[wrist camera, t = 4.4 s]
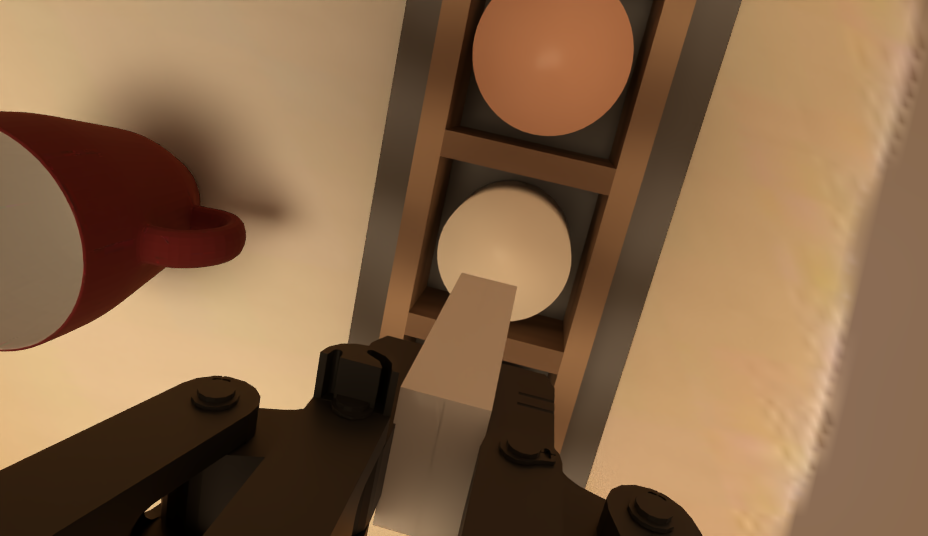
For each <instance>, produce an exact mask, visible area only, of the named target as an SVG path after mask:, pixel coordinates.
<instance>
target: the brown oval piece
mask: <svg viewBox="0 0 928 536" xmlns="http://www.w3.org/2000/svg"><path fill="white" fill-rule="evenodd" d="M633 52H634V45H633V34H632V28H631V25H630V21H629V18H628V15H627V13H626V11H625V9H624V7H623V5H622V4H621V2H620V1H619V0H491V2H490V3H489V5H488V6H487V7H486V9H485V11H484V13H483V15H482V16H481V19H480V21H479V24H478V26H477V29H476V33H475V37H474V43H473V59H472V60H473V69H474V74H475V78H476V82H477V84H478V87H479V90H480V92H481V94H482V96H483V98H484V99H485V101H486V102H487V104H488V105H489V107H490V108H491V109H492V110H493V111H494V112H495V113H496V115H497V116H499V117H500V118H501V119H502V120H503V121H505V122H506V123H508V124H509V125H511V126H513V127H514V128H517V129H519V130H521V131H523V132H527V133H530V134H534V135H541V136H557V135H564V134H568V133H572V132H575V131H578V130H580V129H583V128H585V127H586V126H588V125H590V124H592V123H593V122H595V121H596V120H598V119H599V118H600V117H601V116H603V115H604V114H605V113H606V112H607V111H608V110H609V109H610V108H611V107H612V105H613V104H614V103H615V102H616V100H617V99H618V97H619V96H620V94H621V93H622V91H623V89H624V87H625V85H626V83H627V80H628V77H629V74H630V71H631V66H632V62H633Z"/></svg>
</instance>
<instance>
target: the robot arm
mask: <svg viewBox="0 0 928 536" xmlns="http://www.w3.org/2000/svg"><path fill="white" fill-rule="evenodd" d="M516 290H517V286H513V285H509V284H505V283H501V282H497V281H493V280H489V279H485V278H481V277H477V276H473V275H469V274H465V273H461V275H460V276H459V278H458V280H457V282H456V284H455V286H454V288H453V290H452V291H451V293H450V295H449V297H448V299H447V301H446V303H445V305H444V306H443V308H442V310H441V312H440V314H439V316H438V318H437V320H436V321H435V323H434V325H433V327H432V329H431V331H430V333H429V335H428V336H427V338H426V340H425V342H424V344H423V345H422V344H419V343H415V342H411V341H407V340H403V339H399V338H395V337H392V336H388V335H387V336H385V337H383V338H380V339H378V340H376V341H373V342H372V343H371V344H370V345H369V346H368V345H362V344H338V345H334V346H330V347H328V348H326V349H324V350H323V351H321V352H320V358H319V364H318V371H317V377H316V384H315V390H314V397H313V398H312V399H311V401H310V402H309V403H308V404H307V406H306V407H305V408H304V409H299V410H279V409H265V408H259V403H260V395H259V393H258V392H257V390H256V388H254V387H253V386H251V385H250V384H248V383H247V382H245V381H241V380H238V379H234V378H232V377H226V376H224V377H222V376H211V377H202V378H196V379H193V380H190V381H187V382H184V383H182V384H179V385H177V386H175V387H173V388H171V389H169V390H167V391H165V392H163V393H161V394H159V395H157V396H154V397H152V398H150V399H148V400H146V401H144V402H142V403H140V404H138V405H136V406H134V407H131V408H129V409H127V410H125V411H123V412H121V413H119V414H117V415H115V416H113V417H111V418H109V419H106V420H104V421H102V422H100V423H98V424H96V425H94V426H92V427H90V428H88V429H86V430H84V431H81V432H79V433H77V434H75V435H73V436H71V437H69V438H67V439H65V440H63V441H61V442H59V443H56V444H54V445H52V446H50V447H48V448H46V449H44V450H42V451H40V452H38V453H36V454H34V455H31V456H29V457H27V458H25V459H23V460H21V461H19V462H17V463H15V464H13V465H11V466H9V467H6V468H4V469H2V470H0V536H367V532H368V527H369V522H370V520H371V518H372V515H373V513H374V511H375V508H376V511H375V516H374V521H373V525H375V526H379V527H382V528H386V529H389V530H393V531H396V532H400V533H403V534H407V535H410V536H702V534H701V532H700V531H699V529H698V527H697V526H696V524H695V523H694V521H693V520H692V518H691V517H690V516H689V515H688V514H687V512H686V511H685V510H684V509H683V508H682V507H681V506H680V505H678V504H677V503H675V502H674V501H673V500H671V499H670V498H669V497H667V496H666V495H664V494H662V493H659V492H657V491H655V490H653V489H650V488H645V487H641V486H637V485H621V486H618V487H616V488H614V489H612V490H611V491H610V493H609V495H608V496H607V498H606V500H605V499H603V498H601V497H599V496H597V495H595V494H593V493H591V492H589V491H587V490H586V489H584V488H582V487H580V486H579V485H577V484H576V483H574V482H573V481H572V480H571V479H569V478H568V477H567V476H566V475H565V474H564V473H563V464H562V460H561V457H560V454H559V453H558V452H557V451H556V450H555V448H554V411H555V404H554V401H555V388H554V387H553V385H552V384H551V382H550V381H549V379H548V378H547V376H546V375H545V374H541V373H537V372H533V371H529V370H526V369H522V368H518V367H514V366H510V365H506V364H502V358H503V354H504V349H505V344H506V339H507V334H508V329H509V324H510V319H511V314H512V309H513V305H514V300H515V295H516ZM160 499H161V503H160V504H159V505H157V506H156V507H154V508H153V509H151V510H149V511H147V512H145V511H146V510H147V509H148V508H149V507H150V506H151V505H152V504H154V503H155V502H157V501H158V500H160ZM144 512H145V513H144Z"/></svg>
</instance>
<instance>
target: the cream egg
mask: <svg viewBox="0 0 928 536" xmlns="http://www.w3.org/2000/svg"><path fill="white" fill-rule="evenodd" d="M437 261H438V268H439V272H440V275H441V278H442V280H443V283H444V285H445V286H446V288H447V290H448V291H449V293H451V291H452V290H453V288H454V286H455V284H456V282H457V280H458V278H459V276H460V275H461V273H465V274H469V275H473V276H477V277H481V278H485V279H489V280H493V281H497V282H501V283H505V284H509V285H513V286H517V290H516V295H515V300H514V305H513V309H512V314H511V319H510V321H517V320H522V319H526V318H529V317H531V316H534V315H536V314H538V313H540V312H541V311H543V310H544V309H546V308H547V307H548V306H549V305H551V304H552V303H553V302H554V300H555V299H556V298H557V297H558V296H559V294H560V293H561V292H562V290H563V288H564V286H565V284H566V282H567V279H568V276H569V273H570V268H571V245H570V235H569V228H568V224H567V221H566V218H565V216H564V214H563V212H562V210H561V208H560V207H559V206H558V204H557V203H556V202H555V201H554V200H553V198H552V197H550V196H549V195H548V194H547V193H546V192H544V191H543V190H541V189H539V188H538V187H535V186H533V185H531V184H528V183H524V182H519V181H499V182H495V183H491V184H488V185H486V186H484V187H482V188H480V189H478V190H477V191H475V192H474V193H472V194H471V195H470V196H469V197H468V198H467V199H466V200H465V201H464V202H463V203H462V204H461V205H460V206H459V207H458V209H457V210H456V211H455V212H454V213H453V214H452V215H451V217H450V218H449V219H448V221H447V222H446V224H445V226H444V228H443V230H442V233H441V235H440V239H439V242H438V250H437Z"/></svg>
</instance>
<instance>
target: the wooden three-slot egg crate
mask: <svg viewBox="0 0 928 536" xmlns="http://www.w3.org/2000/svg"><path fill="white" fill-rule="evenodd" d="M619 1H620V2H621V4H622V5H623V7H624V9H625V11H626V13H627V15H628V18H629V21H630V25H631V28H632V34H633V45H634V52H633V62H632V66H631V71H630V74H629V77H628V80H627V83H626V85H625V87H624V89H623V91H622V93H621V94H620V96H619V97H618V99H617V100H616V102H615V103H614V104H613V105H612V107H611V108H610V109H609V110H608V111H607V112H606V113H605V114H604V115H603V116H601V117H600V118H599V119H598V120H596V121H595V122H593V123H592V124H590V125H588V126H586V127H585V128H583V129H580V130H578V131H575V132H572V133H568V134H564V135H557V136H541V135H534V134H530V133H527V132H523V131H521V130H519V129H517V128H514V127H513V126H511V125H509V124H508V123H506V122H505V121H503V120H502V119H501V118H500V117H499V116H497V115H496V113H495V112H494V111H493V110H492V109H491V108H490V107H489V105H488V104H487V102H486V101H485V99H484V98H483V96H482V94H481V92H480V90H479V87H478V84H477V82H476V78H475V74H474V69H473V60H472V59H473V43H474V37H475V33H476V29H477V26H478V24H479V21H480V19H481V16H482V15H483V13H484V11H485V9H486V7H487V6H488V5H489V3H490V2H491V0H407V2H406V7H405V13H404V19H403V25H402V31H401V37H400V43H399V48H398V54H397V60H396V66H395V72H394V78H393V83H392V89H391V95H390V101H389V107H388V113H387V119H386V124H385V130H384V136H383V142H382V148H381V154H380V159H379V165H378V171H377V177H376V183H375V189H374V194H373V200H372V206H371V212H370V218H369V224H368V230H367V235H366V241H365V247H364V253H363V259H362V265H361V270H360V276H359V282H358V288H357V294H356V300H355V306H354V311H353V317H352V323H351V329H350V335H349V341H348V344H362V345H368V346H369V345H370V344H371V343H372V342H373V341H376V340H378V339H380V338H383V337H385V336H387V335H388V336H392V337H395V338H399V339H403V340H407V341H411V342H415V343H419V344H422V345H423V344H424V342H425V340H426V338H427V336H428V335H429V333H430V331H431V329H432V327H433V325H434V323H435V321H436V320H437V318H438V316H439V314H440V312H441V310H442V308H443V306H444V305H445V303H446V301H447V299H448V297H449V295H450V293H449V291H448V290H447V288H446V286H445V285H444V283H443V280H442V278H441V275H440V272H439V268H438V261H437V250H438V242H439V239H440V235H441V233H442V230H443V228H444V226H445V224H446V222H447V221H448V219H449V218H450V217H451V215H452V214H453V213H454V212H455V211H456V210H457V209H458V207H459V206H460V205H461V204H462V203H463V202H464V201H465V200H466V199H467V198H468V197H469V196H470V195H471V194H472V193H474V192H475V191H477V190H478V189H480V188H482V187H484V186H486V185H488V184H491V183H495V182H499V181H519V182H524V183H528V184H531V185H533V186H535V187H538V188H539V189H541V190H543V191H544V192H546V193H547V194H548V195H549V196H550V197H552V198H553V200H554V201H555V202H556V203H557V204H558V206H559V207H560V208H561V210H562V212H563V214H564V216H565V218H566V221H567V224H568V228H569V235H570V245H571V268H570V273H569V276H568V279H567V282H566V284H565V286H564V288H563V290H562V292H561V293H560V294H559V296H558V297H557V298H556V299H555V300H554V302H553V303H552V304H551V305H549V306H548V307H547V308H546V309H544V310H543V311H541V312H540V313H538V314H536V315H534V316H531V317H529V318H526V319H522V320H517V321H510V324H509V329H508V334H507V339H506V344H505V349H504V354H503V358H502V364H506V365H510V366H514V367H518V368H522V369H526V370H529V371H533V372H537V373H541V374H545V375H546V376H547V378H548V379H549V381H550V382H551V384H552V385H553V387H554V388H555V401H554V404H555V411H554V448H555V450H556V451H557V452H558V453H559V454H560V457H561V460H562V464H563V473H564V474H565V475H566V476H567V477H568V478H569V479H571V480H572V481H573V482H574V483H576V484H577V485H579V486H580V487H582V488H584V489H585V487H586V483H587V480H588V477H589V474H590V471H591V468H592V465H593V462H594V459H595V455H596V452H597V449H598V446H599V443H600V440H601V437H602V434H603V431H604V427H605V424H606V421H607V418H608V415H609V412H610V409H611V406H612V403H613V399H614V396H615V393H616V390H617V387H618V384H619V381H620V378H621V375H622V371H623V368H624V365H625V362H626V359H627V356H628V353H629V350H630V347H631V343H632V340H633V337H634V334H635V331H636V328H637V325H638V322H639V319H640V315H641V312H642V309H643V306H644V303H645V300H646V297H647V294H648V291H649V287H650V284H651V281H652V278H653V275H654V272H655V269H656V266H657V263H658V259H659V256H660V253H661V250H662V247H663V244H664V241H665V238H666V235H667V231H668V228H669V225H670V222H671V219H672V216H673V213H674V210H675V207H676V204H677V200H678V197H679V194H680V191H681V188H682V185H683V182H684V179H685V176H686V172H687V169H688V166H689V163H690V160H691V157H692V154H693V151H694V148H695V144H696V141H697V138H698V135H699V132H700V129H701V126H702V123H703V120H704V116H705V113H706V110H707V107H708V104H709V101H710V98H711V95H712V92H713V88H714V85H715V82H716V79H717V76H718V73H719V70H720V67H721V64H722V60H723V57H724V54H725V51H726V48H727V45H728V42H729V39H730V36H731V32H732V29H733V26H734V23H735V20H736V17H737V14H738V11H739V8H740V4H741V1H742V0H619Z"/></svg>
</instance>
